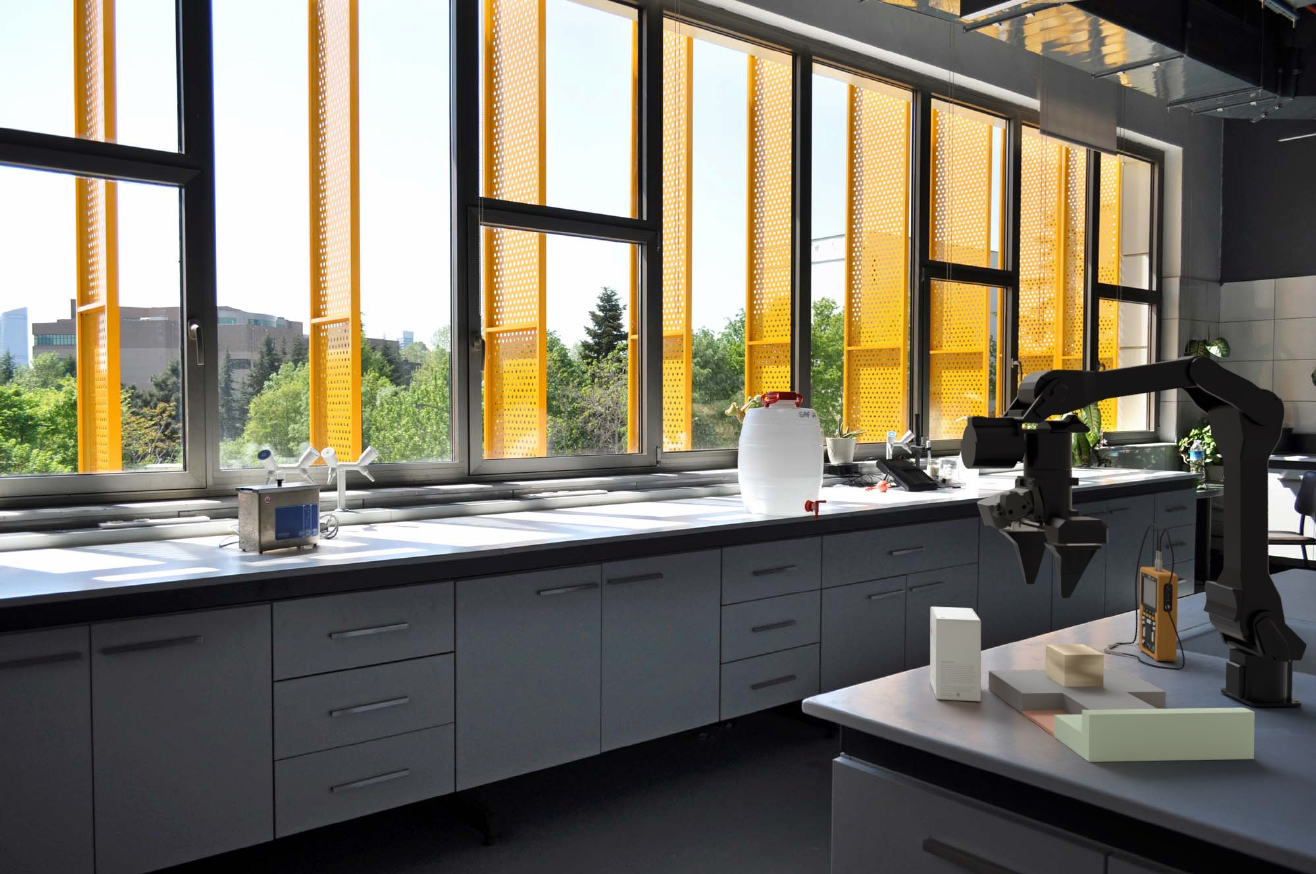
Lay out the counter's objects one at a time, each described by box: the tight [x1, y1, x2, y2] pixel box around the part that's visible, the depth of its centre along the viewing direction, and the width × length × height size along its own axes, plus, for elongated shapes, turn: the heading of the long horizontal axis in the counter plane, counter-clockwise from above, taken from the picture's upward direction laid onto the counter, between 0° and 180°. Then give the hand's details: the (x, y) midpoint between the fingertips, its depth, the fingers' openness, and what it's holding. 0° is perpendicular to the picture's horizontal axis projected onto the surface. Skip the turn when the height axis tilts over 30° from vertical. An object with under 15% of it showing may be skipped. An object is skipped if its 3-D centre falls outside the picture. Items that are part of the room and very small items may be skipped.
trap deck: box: [988, 668, 1256, 763], centre depth 110 cm, size 18×26×5 cm
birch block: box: [1045, 643, 1105, 687], centre depth 117 cm, size 5×5×4 cm
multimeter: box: [1092, 523, 1186, 671], centre depth 139 cm, size 15×10×20 cm
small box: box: [929, 606, 982, 702], centre depth 121 cm, size 8×6×10 cm
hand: (1046, 590), depth 117 cm, fingers open, 9 cm apart
